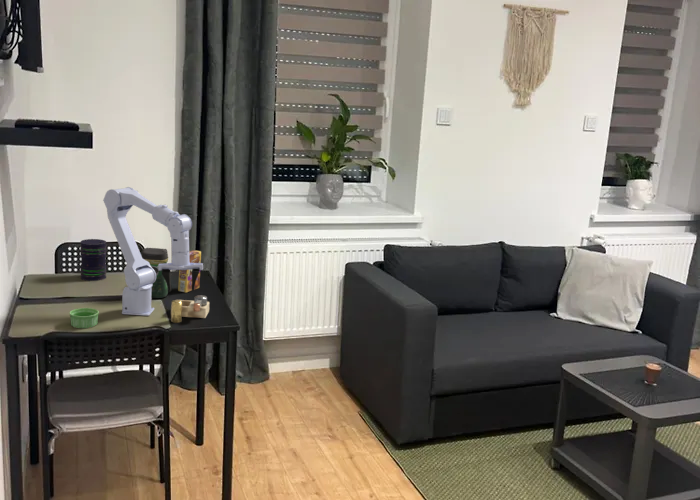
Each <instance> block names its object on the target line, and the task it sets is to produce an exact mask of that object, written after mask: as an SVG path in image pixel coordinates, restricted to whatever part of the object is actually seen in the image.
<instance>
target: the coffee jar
mask: <svg viewBox="0 0 700 500" xmlns="http://www.w3.org/2000/svg"><path fill="white" fill-rule="evenodd" d="M168 252H169V251H168V249H167V248H159V247H157V248H156V247H145V248H143V250H142V252H141V256H142V258H143V259H144V260H146V261H148V262H149V263H150V266H151V267H152V268H153V269H154V270H155V272H156V280H155V282H154V283H153V286H152V291H151V299H162V298H166V297H167V296H168V293H169V291H168V286H167V283H166V281H165V279H164V277H163V275H162V270H158V265H159V264H164V263H169V254H168Z"/></svg>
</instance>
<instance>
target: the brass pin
mask: <svg viewBox="0 0 700 500" xmlns="http://www.w3.org/2000/svg"><path fill="white" fill-rule="evenodd" d="M180 300H181V299H175V300H172V301H171V306H172V313H171V312H170V319H171V320H170V321H171V322H172V323H173V324H174V323H176V324H177V323H182V301H180Z"/></svg>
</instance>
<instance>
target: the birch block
mask: <svg viewBox="0 0 700 500" xmlns="http://www.w3.org/2000/svg"><path fill="white" fill-rule="evenodd" d="M179 300H180V301H182V317H183V318H184V317H185V318H198V319H199V318H201V319H206V318H207V316H208V314H209V313H210V301H207V305H206V306H201V308H200V311H199V312H195V311H193V305H194V300H191V299H190V300H187V299H185V300H184V299H179ZM171 313H172V305H171V306H170V314H171Z"/></svg>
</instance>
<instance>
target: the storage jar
mask: <svg viewBox="0 0 700 500" xmlns="http://www.w3.org/2000/svg"><path fill="white" fill-rule="evenodd" d="M79 251H80V257H81V258H80V262H81V264H80V267H79V268H80V269H79V270H80V271H79V272H80V279H81V280H83V281H89V282H98V281H103V280H105V279H107V264H106V261H107V260H106V259H107V258H106V256H107V241H106V240H103V239H100V238H99V239H98V238H97V239H96V238H88V239H87V238H86V239H83V240H81V241H80V250H79Z"/></svg>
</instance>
